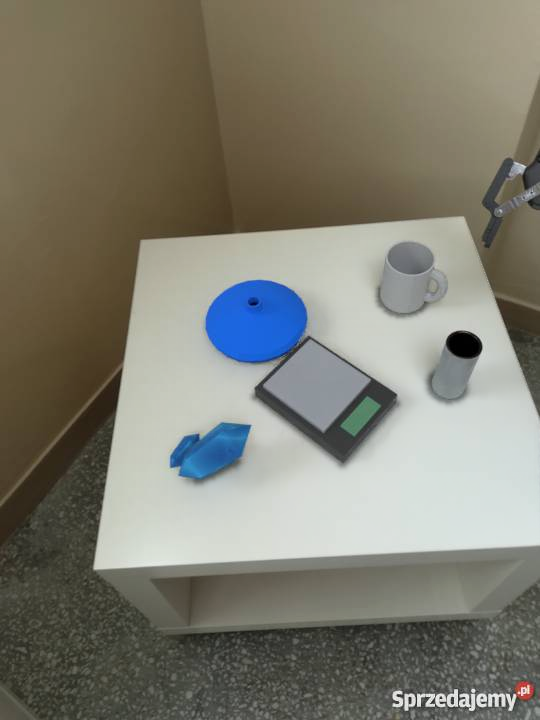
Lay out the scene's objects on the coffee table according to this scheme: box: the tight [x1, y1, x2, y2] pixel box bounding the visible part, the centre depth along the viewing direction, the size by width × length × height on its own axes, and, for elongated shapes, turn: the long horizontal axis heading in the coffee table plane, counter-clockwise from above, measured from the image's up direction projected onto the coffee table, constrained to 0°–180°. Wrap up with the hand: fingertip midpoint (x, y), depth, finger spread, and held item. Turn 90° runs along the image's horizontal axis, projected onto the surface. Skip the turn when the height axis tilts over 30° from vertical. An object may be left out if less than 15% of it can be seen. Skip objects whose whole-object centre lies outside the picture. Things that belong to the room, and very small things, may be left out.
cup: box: [379, 240, 449, 314], centre depth 81 cm, size 7×10×9 cm
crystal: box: [169, 421, 252, 480], centre depth 69 cm, size 7×9×12 cm
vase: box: [205, 279, 308, 364], centre depth 81 cm, size 16×16×7 cm
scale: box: [254, 335, 398, 464], centre depth 75 cm, size 16×12×3 cm
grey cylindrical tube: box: [431, 329, 484, 400], centre depth 72 cm, size 4×4×10 cm
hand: (519, 260), depth 66 cm, fingers open, 8 cm apart
